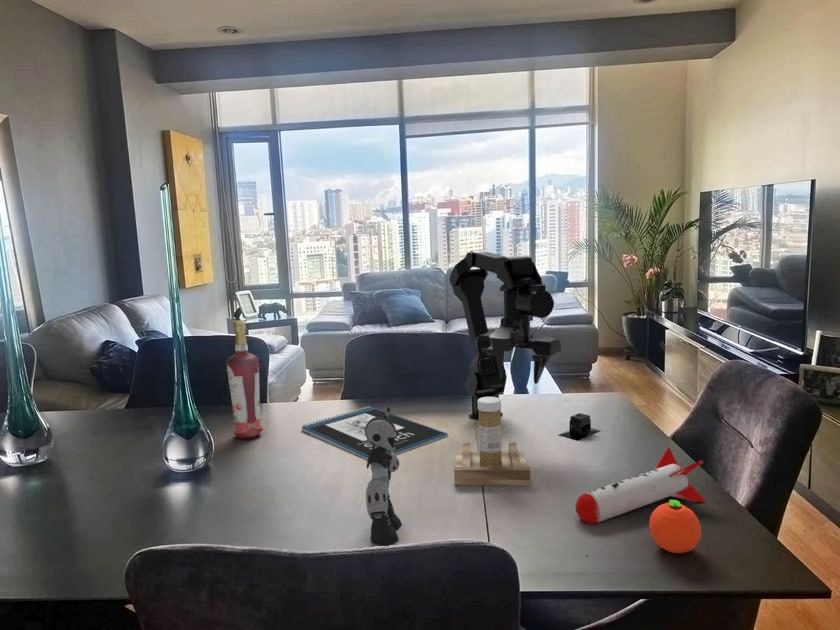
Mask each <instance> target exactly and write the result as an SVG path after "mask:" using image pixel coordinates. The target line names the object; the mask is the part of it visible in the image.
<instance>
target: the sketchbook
mask: <svg viewBox="0 0 840 630" xmlns="http://www.w3.org/2000/svg"><path fill="white" fill-rule="evenodd" d="M385 414H386V411H385V410H382V409H378V408H375V407H372V406H369V405H368V406H366V407H361V408H358V409H355V410H354V409H353V410H350V411H347V412H344V413H341V414H340V413H339V414H336V415H334V416H330V417H327V418H326V417H325V418H322V419H319V420H316V421H313V422H312V421H311V422H310V423H307V424H306V423H303V425H302V427H301V431H302V432H304V433H306V434H308V435H311V436H313V437H315V438H317V439H320V440H322V441H325V442H326V443H329V444H331V445H333V446H335V447H338V448H341V449H342V450H344V451H347V452H348V453H352V454H353V455H356V456H358V457H360V458H363V459H365V460H368V457H369V453H370V452H371V450H372V446H373V443H372V442H371V441H370V440H367V438H366V436H365V428H366V425H367V423H368V422H369V421H370V420H371V419H373V418H375V417H384V416H385ZM388 419H389V420H390V421H391V422H392V423H394V426H395V428H396V437H395V441H394V447H395V450H394V452H393V453H394V454H395V455H396V456H397V455H399V454H401V453H405V452H407V451H410V450H413V449H416V448H419V447H421V446H424V445H426V444H430V443H432V442H435V441H438V440H441V439H444V438H446V437H448V433H447V432H444V431H442V430H439V429H436V428H433V427H431V426H427V425H424V424H423V423H419V422H416V421H413V420H411V419H407V418H405V417H401V416H398V415H395V414H393V413H390V412H389V416H388Z"/></svg>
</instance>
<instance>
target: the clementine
mask: <svg viewBox="0 0 840 630" xmlns="http://www.w3.org/2000/svg"><path fill="white" fill-rule="evenodd" d="M648 525H649V527H648V528H649V532H650V534H651V536H652V539H653V540H654V541H655V543H656V544H657V545H658V546H659V547H661V548H662V549H663V550H666V551H667V552H669V553H673V554H683V553H688V552H690V551H692V550H693V549H694V548H696V547H697V545H698V543H699V541H700V540H701V537H702V528H701V522H700V521H699V518H698V517H697V515H696V514H695V512H694V511H693V510H692V509H690V508H689V507H687V506H686V505H685V504H681V502H680V501H679V500H677V499H669V501H668V502H665V503H663V504H660V505H658V506H657V507H655V509H654V510H653V511H652V513H651V514H650V518H649V522H648Z"/></svg>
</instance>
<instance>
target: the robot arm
mask: <svg viewBox="0 0 840 630" xmlns="http://www.w3.org/2000/svg"><path fill="white" fill-rule="evenodd" d="M489 272H490V273H494V274H496V277H495V278H497V279H498V280H500V281H501V282H502V283H503V284H502V285H501V286H500V287H499V291H500V292H503V317H501V318H500V324H499V327H497V328H496V329H495V330H494V331H493V332H489V328H488V324H487V323H488V322H487V320H486V316H485V312H484V307H483V301H482V295H483V294H484V293H483V292H484V289H485V281H486V279H487V277H488V275H489ZM542 279H543V278H542V276H541V275H540V273H539V272H538V269H537V266H536V265H535V262H534V261H533V258H532V257H531V256H530V255H514V256H506V255H501V254H496V253H494V252H493V253H492V252H489V251H487V250H485V249H483V250H470V251H468V252H467V253H466V254H465V256H464V258H463V259H461V260H460V261H459V262H457V263H456V264H455V265H454V267H453V268H452V270H451V272H450V275H449V284H450V285H451V287H452V290H453V294H454V295H455V297H456V298H457V299H458V300H459V301H460V302H461V304H462V307H463V311H464V316H465V320H466V327H467V330H468V334H469V339H470V345H471V347H472V348H471V350H472V353H473V359H472V362H471V365H470V367H469V368H470V369H469V372H470V375H469V377H468V379H467V380H466V382H465V386H464V387H465V392H466V393H467V394H469V395H470V396H471V412H470V413H469V414H468V417H469V418H472V419H477V420H479V411H478V399H479V398H482V397H497V398H499V399H500V393H504V392H505V389H506V383H507V379H508V376H507V371H506V369H505V364H504V359H505V352H510V351H512V350H513V349H514V348H520V349H528V350H532V351H533V352H534V354H532V355H531V358H532V359H533V360H532V361H533V364H534V365H533V384H534V385H535V384H538V383H539V381H540V379H541V377H542V375H543V372H544V370H545V368H546V366H547V364H548V362H549V360H550V358H551V357H552V356H555V355H556V354H558V353H559V352H561V351H562V343H561V341H560V340H559V338H554V337H541V338H539V339H536V340H532V339H534V334H533V333H531V322H532V321H534V317H535V318H539V319H540V318H541V319H544V318H547V317H548V316H549V315H550V314H551V313H552V312H553V310H554V307H555V301H554V299H553V296H552V294H551V293H550V292H549V291H547V290H546V284H543V281H542ZM501 416H503V412H502V411H500V417H501Z"/></svg>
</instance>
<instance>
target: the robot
mask: <svg viewBox="0 0 840 630" xmlns="http://www.w3.org/2000/svg"><path fill="white" fill-rule="evenodd" d="M390 411H391V408H390V407H387V409H386V411H385V412H386V414H385V416H384V417H375V418H373V419H371V420H370V421H369V422H368V423H367V425H366V428H365V436H366V438H367V440H370V441H371V442H372V443H373V446H372V450H371V452H370V453H369V457H368V460H367V459H366V460H367V461H366V469H367V470H368V469H369V468H370V470H371V473H372V474H371V480H370V481H368V483H367V486H366V491H365V500H366V503H365V504H366V511H367V514H368V516H369V518H370V519H371V525H370V526H371V527H370V540H371V543H372V544H375V545H378V546H383V547H384V546H393V545H394V544H395V543H397V542H398V541H399V540H400V539H399V537H398V534H397V532H396V530H399V529H400V527H402V525H403V524H402V521H401V519H400V518H399V517H398V516H397V514H396V513H395V509H394V506H393V503H392V500H391V499H390V496H391V495H390V493H389V485H390V481H391V477H392V473H395V472H396V471H397V470H399V467H400V460H399V457H398V456H397V455H395V454H394V453H393V452H394V450H395V447H394V441H395V437H396V428H395V426H394V423H392V422H391V421H390V420H389V419H388V416H389V413H390Z"/></svg>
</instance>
